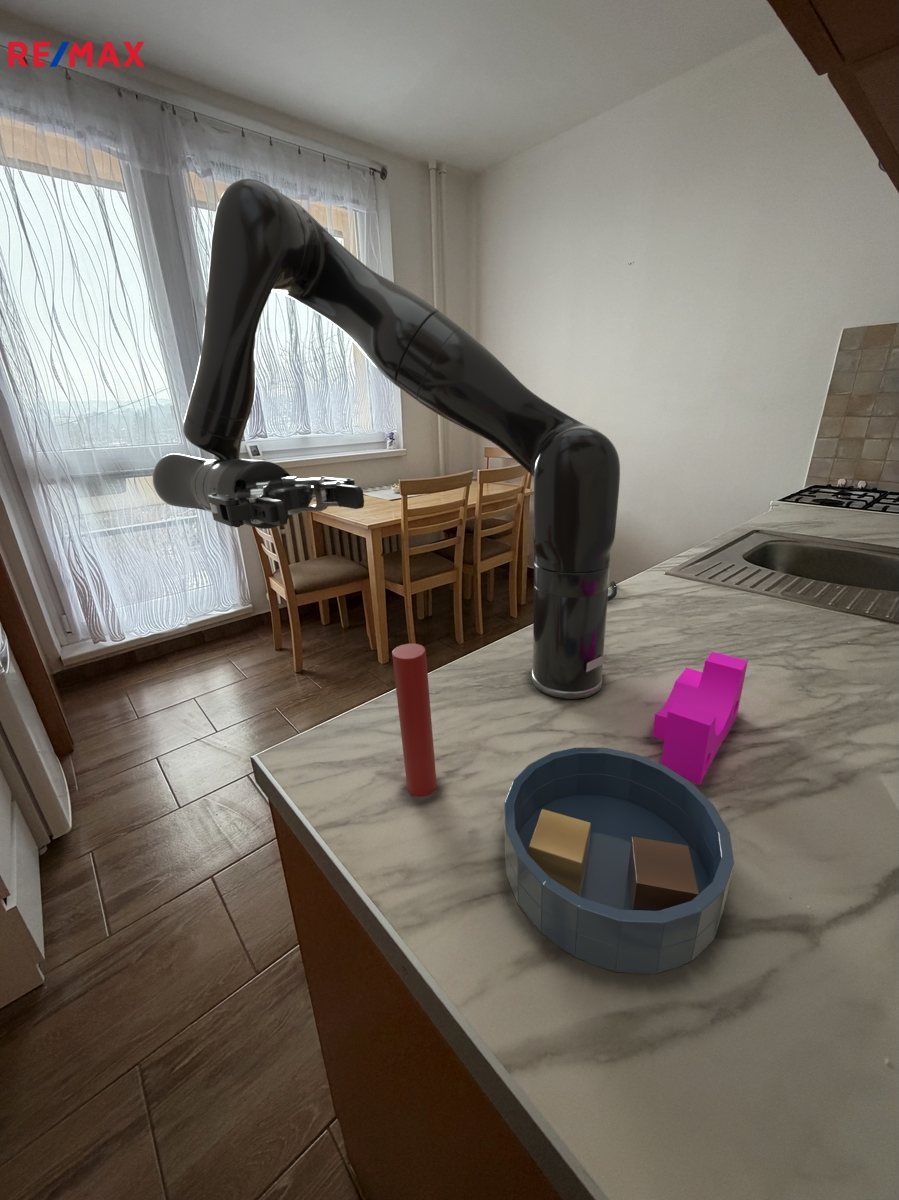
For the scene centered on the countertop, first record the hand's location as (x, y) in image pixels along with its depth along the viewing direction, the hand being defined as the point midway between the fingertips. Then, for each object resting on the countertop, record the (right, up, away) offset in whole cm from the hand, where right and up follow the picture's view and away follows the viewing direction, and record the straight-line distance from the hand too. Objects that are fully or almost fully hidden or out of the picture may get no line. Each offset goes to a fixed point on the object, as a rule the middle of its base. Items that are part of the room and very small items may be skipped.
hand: (324, 505), depth 46 cm
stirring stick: (+9, -28, +3) cm, 30 cm away
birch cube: (+21, -31, -7) cm, 38 cm away
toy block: (+39, -25, +8) cm, 47 cm away
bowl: (+25, -31, -6) cm, 40 cm away
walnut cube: (+28, -32, -10) cm, 43 cm away
